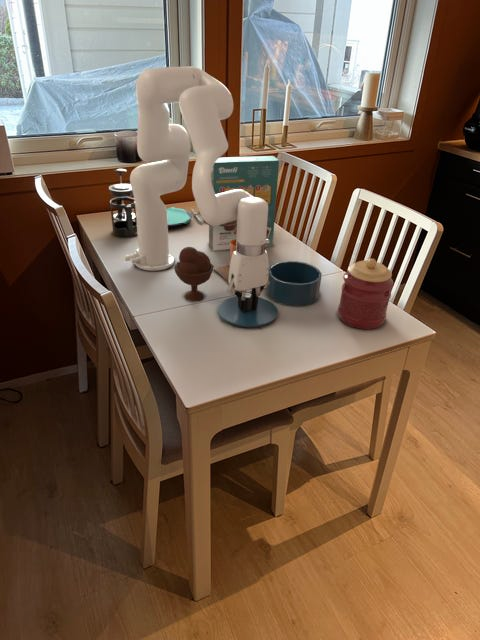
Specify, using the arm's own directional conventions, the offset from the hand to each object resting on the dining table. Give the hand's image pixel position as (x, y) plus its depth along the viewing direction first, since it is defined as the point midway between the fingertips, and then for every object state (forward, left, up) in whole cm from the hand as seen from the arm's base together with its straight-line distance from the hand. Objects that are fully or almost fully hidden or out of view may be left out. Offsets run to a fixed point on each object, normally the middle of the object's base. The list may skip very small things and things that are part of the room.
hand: (247, 308), depth 138 cm
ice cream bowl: (-9, +15, -2) cm, 18 cm away
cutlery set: (+12, +74, -2) cm, 75 cm away
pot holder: (+10, +22, -1) cm, 24 cm away
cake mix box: (+22, +42, -2) cm, 47 cm away
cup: (+10, +22, -1) cm, 24 cm away
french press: (-11, +69, -2) cm, 70 cm away
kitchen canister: (+27, -16, -2) cm, 31 cm away
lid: (0, 0, -1) cm, 1 cm away
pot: (+18, +4, -1) cm, 18 cm away
